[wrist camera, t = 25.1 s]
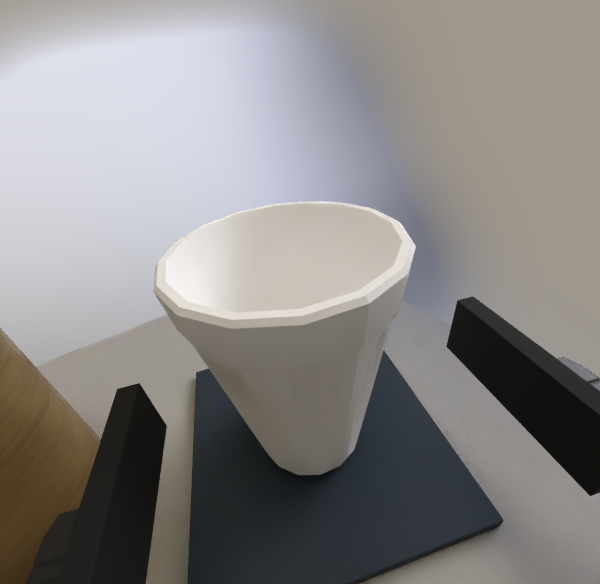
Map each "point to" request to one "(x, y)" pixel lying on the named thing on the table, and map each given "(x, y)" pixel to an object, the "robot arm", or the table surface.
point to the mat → (327, 496)
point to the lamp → (36, 460)
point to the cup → (291, 318)
